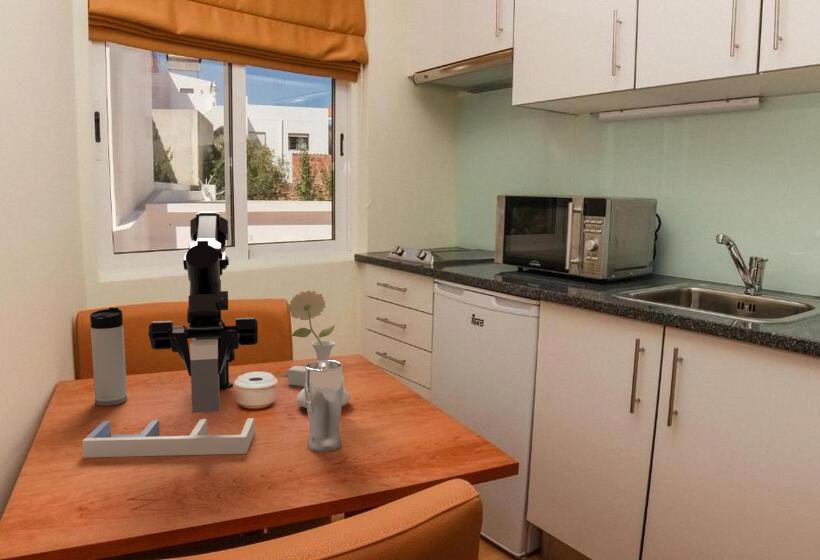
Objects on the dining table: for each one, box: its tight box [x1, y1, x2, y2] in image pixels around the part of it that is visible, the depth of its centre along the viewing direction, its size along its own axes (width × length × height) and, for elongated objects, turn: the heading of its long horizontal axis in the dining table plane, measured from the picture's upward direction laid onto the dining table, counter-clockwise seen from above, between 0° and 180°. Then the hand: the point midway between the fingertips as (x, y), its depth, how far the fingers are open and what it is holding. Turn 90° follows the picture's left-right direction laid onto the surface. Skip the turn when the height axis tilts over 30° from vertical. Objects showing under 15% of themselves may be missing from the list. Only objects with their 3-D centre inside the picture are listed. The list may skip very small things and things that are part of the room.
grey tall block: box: [189, 339, 221, 414], centre depth 112 cm, size 4×4×12 cm
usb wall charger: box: [280, 365, 306, 388], centre depth 150 cm, size 4×7×4 cm, turn 69°
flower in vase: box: [287, 290, 351, 409], centre depth 133 cm, size 13×11×25 cm
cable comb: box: [82, 417, 256, 459], centre depth 113 cm, size 27×9×3 cm, turn 95°
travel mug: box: [89, 307, 128, 407], centre depth 134 cm, size 6×7×20 cm
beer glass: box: [303, 359, 345, 453], centre depth 113 cm, size 7×7×15 cm
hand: (204, 374), depth 111 cm, fingers closed on grey tall block, 4 cm apart
